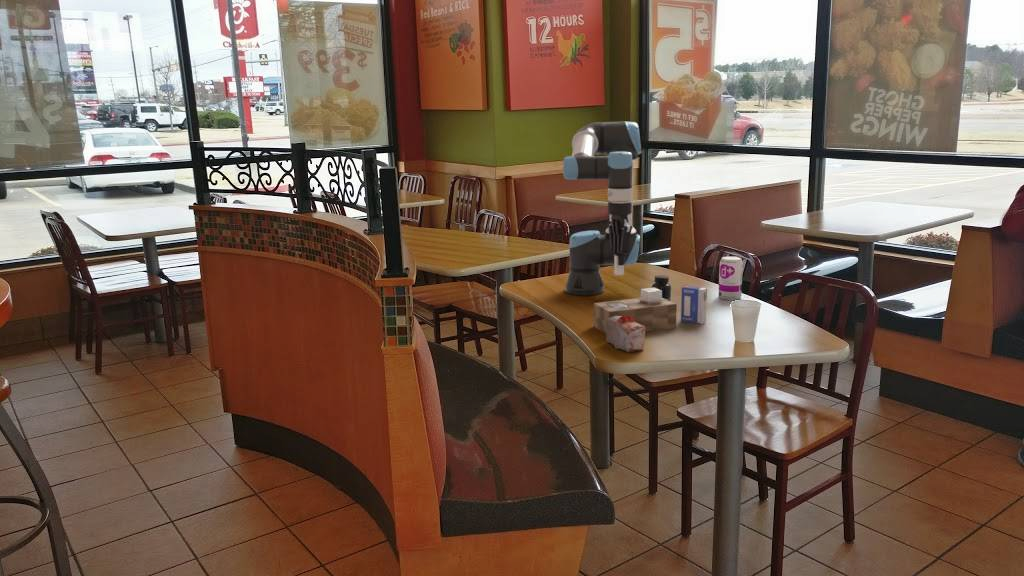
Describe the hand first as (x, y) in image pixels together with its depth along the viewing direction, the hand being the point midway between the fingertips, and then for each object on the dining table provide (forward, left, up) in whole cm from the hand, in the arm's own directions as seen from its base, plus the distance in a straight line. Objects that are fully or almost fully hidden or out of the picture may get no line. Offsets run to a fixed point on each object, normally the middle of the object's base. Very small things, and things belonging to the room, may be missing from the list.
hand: (619, 274), depth 263 cm
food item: (+18, -7, -19) cm, 27 cm away
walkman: (+2, +27, -19) cm, 33 cm away
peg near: (0, 0, -18) cm, 18 cm away
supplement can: (-20, +56, -19) cm, 63 cm away
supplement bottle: (-16, +25, -19) cm, 35 cm away
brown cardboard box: (0, +6, -18) cm, 19 cm away
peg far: (0, +12, -14) cm, 19 cm away
